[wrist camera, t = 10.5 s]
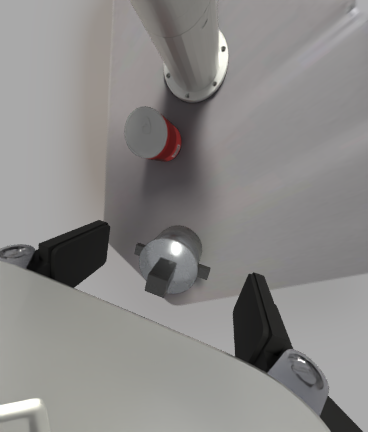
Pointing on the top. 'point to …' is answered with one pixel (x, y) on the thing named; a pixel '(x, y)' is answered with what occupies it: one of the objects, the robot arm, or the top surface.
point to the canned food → (152, 135)
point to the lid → (168, 266)
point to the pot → (187, 238)
